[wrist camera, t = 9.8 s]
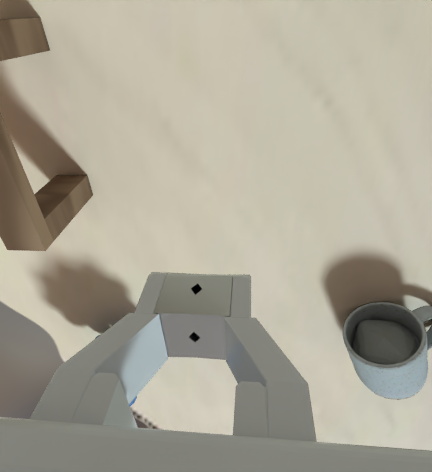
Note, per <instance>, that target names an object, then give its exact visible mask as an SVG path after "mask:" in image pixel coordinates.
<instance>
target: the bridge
mask: <svg viewBox="0 0 432 472" xmlns="http://www.w3.org/2000/svg"><path fill="white" fill-rule="evenodd" d="M49 50H50V49H49V45H48V42H47V39H46V35H45V32H44V29H43V25H42V22H41V19H40V18H25V19H4V20H0V61H2V60H7V59H12V58H17V57H21V56H26V55H31V54H35V53H40V52H45V51H49ZM92 195H93V193H92V190H91V186H90V183H89V180H88V176H87V175H72V176H55V177H54V178H53V179H52V180H51V181H49V182H48V183H47V184H46V185H45V186H44V187H43V188H41V189H40V190H39V191H38V192H37V193H36V194H34V193H33V190H32V188H31V186H30V183H29V181H28V178H27V176H26V174H25V171H24V169H23V166H22V164H21V162H20V159H19V157H18V154H17V152H16V150H15V147H14V145H13V142H12V140H11V138H10V135H9V133H8V130H7V128H6V126H5V123H4V121H3V118H2V116H1V114H0V237H1V239H2V241H3V242H4V244H5V246H6V248H7V250H30V251H46V250H47V248H48V247H49V246H50V245H51V244H52V243H53V241H54V240H55V239H56V238H57V237H58V235H59V234H60V233H61V232H62V231H63V230H64V228H65V227H66V226H67V225H68V224H69V223H70V221H71V220H72V219H73V218H74V217H75V215H76V214H77V213H78V212H79V211H80V210H81V208H82V207H83V206H84V205H85V204H86V203H87V201H88V200H89V199H90V198H91V197H92Z"/></svg>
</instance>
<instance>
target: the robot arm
mask: <svg viewBox="0 0 432 472" xmlns="http://www.w3.org/2000/svg"><path fill="white" fill-rule="evenodd" d="M168 357H198V358H210V359H222V360H226V362H227V364H228V366H229V368H230V369H231V371H232V373H233V375H234V377H235V379H236V381H237V383H238V385H237V386H236V393H235V410H234V426H233V435H223V434H210V433H198V432H185V431H172V430H159V429H146V428H138V427H137V424H136V422H135V419H134V417H133V414H132V411H131V409H130V406H129V404H130V403H131V402H132V401H133V399H134V398H135V397H136V396H137V395H138V394H139V392H140V391H141V390H142V389H143V388H144V386H145V385H146V384H147V383H148V382H149V381H150V379H151V378H152V377H153V376H154V375H155V374H156V372H157V371H158V370H159V369H160V368H161V366H162V365H163V364H164V363H165V362H166V361H167V359H168ZM0 472H432V451H427V450H414V449H402V448H389V447H376V446H363V445H350V444H337V443H324V442H317V441H316V434H315V428H314V421H313V414H312V407H311V401H310V394H309V387H308V383H307V382H306V381H305V380H304V378H303V377H302V376H301V374H300V373H299V372H298V371H297V369H296V368H295V367H294V366H293V364H292V363H291V362H290V360H289V359H288V358H287V357H286V355H285V354H284V353H283V352H282V350H281V349H280V348H279V347H278V345H277V344H276V343H275V341H274V340H273V339H272V338H271V336H270V335H269V334H268V333H267V331H266V330H265V329H264V327H263V326H262V325H261V324H260V322H259V321H258V320H257V319H256V318H251V276H250V275H218V274H186V273H160V272H152V273H151V274H150V275H149V276H148V279H147V281H146V284H145V286H144V289H143V291H142V294H141V297H140V299H139V302H138V304H137V307H136V309H135V312H134V313H128V314H127V315H126V316H124V317H123V318H122V319H120V320H119V321H118V322H117V323H115V324H114V325H113V326H111V327H110V328H109V329H108V330H106V331H105V332H104V333H102V334H101V335H100V336H98V337H97V338H96V339H95V340H93V341H92V342H91V343H89V344H88V345H87V346H86V347H84V348H83V349H82V350H80V351H79V352H78V353H77V354H75V355H74V356H73V357H71V358H70V359H69V360H67V361H66V362H65V363H64V364H62V365H61V366H60V367H58V368H57V370H56V372H55V374H54V376H53V377H52V379H51V381H50V383H49V385H48V387H47V388H46V390H45V392H44V394H43V396H42V398H41V399H40V401H39V403H38V405H37V407H36V409H35V410H34V412H33V414H32V416H31V418H30V419H17V418H5V417H0Z"/></svg>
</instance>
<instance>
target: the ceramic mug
mask: <svg viewBox="0 0 432 472" xmlns="http://www.w3.org/2000/svg"><path fill="white" fill-rule="evenodd" d="M430 319H432V306H423V307H420V308H417V309H415V310H413V311H411V310H409V309H407V308H405V307H403V306H401V305H398V304H395V303H390V302H374V303H369V304H365V305H362V306H360V307H358V308H357V309H355V310H354V311H353V312H352V313H351V314H350V315H349V316H348V317H347V319H346V321H345V323H344V327H343V339H344V342H345V345H346V348H347V350H348V352H349V355H350V358H351V360H352V363H353V365H354V368H355V371H356V373H357V375H358V376H359V378H360V379H361V381H362V382H363V383H364V384H365V385H366V386H367V388H369V389H370V390H371V391H372V392H374V393H375V394H377V395H379V396H382V397H384V398H388V399H397V400H399V399H405V398H409V397H411V396H413V395H415V394H416V393H418V392H419V391H420V390H421V388H422V387H423V385H424V383H425V381H426V378H427V372H428V361H427V350H429V349H430V348H432V325H431V327H430V329H429V330H428V331H427V332H426V330H425V327H424V324H423V322H425V321H427V320H430Z"/></svg>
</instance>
